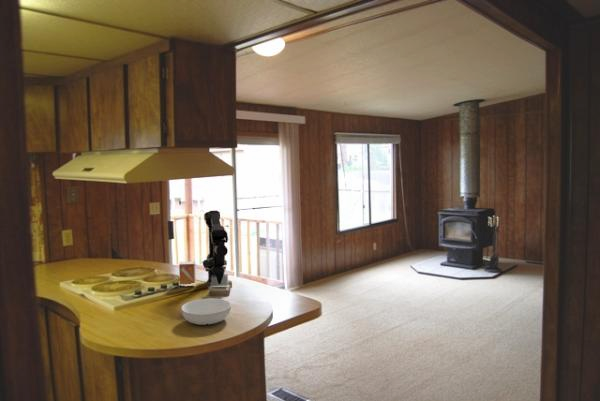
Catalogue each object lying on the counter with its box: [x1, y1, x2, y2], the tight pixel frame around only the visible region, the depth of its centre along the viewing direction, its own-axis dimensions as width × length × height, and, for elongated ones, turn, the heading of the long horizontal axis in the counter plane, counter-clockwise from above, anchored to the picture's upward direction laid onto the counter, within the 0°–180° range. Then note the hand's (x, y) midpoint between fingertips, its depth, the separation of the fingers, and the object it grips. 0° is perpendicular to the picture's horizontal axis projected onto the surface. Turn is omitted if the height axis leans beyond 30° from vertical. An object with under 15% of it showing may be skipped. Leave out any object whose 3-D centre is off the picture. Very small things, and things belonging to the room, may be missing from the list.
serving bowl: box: [180, 297, 232, 326], centre depth 199 cm, size 21×21×7 cm
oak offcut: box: [228, 279, 233, 288], centre depth 253 cm, size 4×4×3 cm
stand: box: [208, 285, 232, 297], centre depth 241 cm, size 10×10×3 cm
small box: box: [178, 261, 197, 285], centre depth 255 cm, size 8×6×13 cm
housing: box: [210, 273, 229, 286], centre depth 240 cm, size 5×8×5 cm, turn 93°
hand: (219, 282), depth 240 cm, fingers closed on housing, 5 cm apart
